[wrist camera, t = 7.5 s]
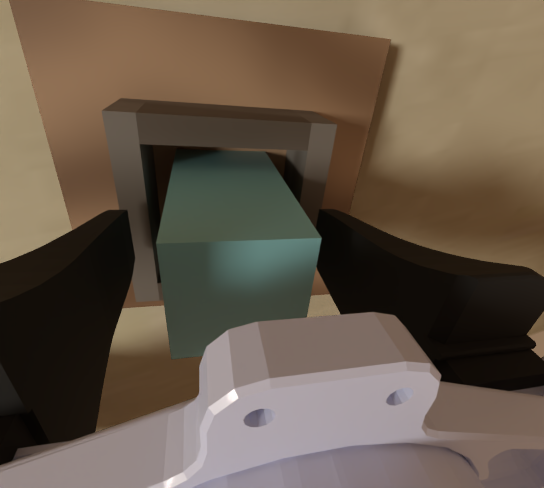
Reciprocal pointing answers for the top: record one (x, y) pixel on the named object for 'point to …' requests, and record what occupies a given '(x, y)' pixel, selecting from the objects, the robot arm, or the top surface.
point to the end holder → (192, 108)
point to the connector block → (231, 247)
